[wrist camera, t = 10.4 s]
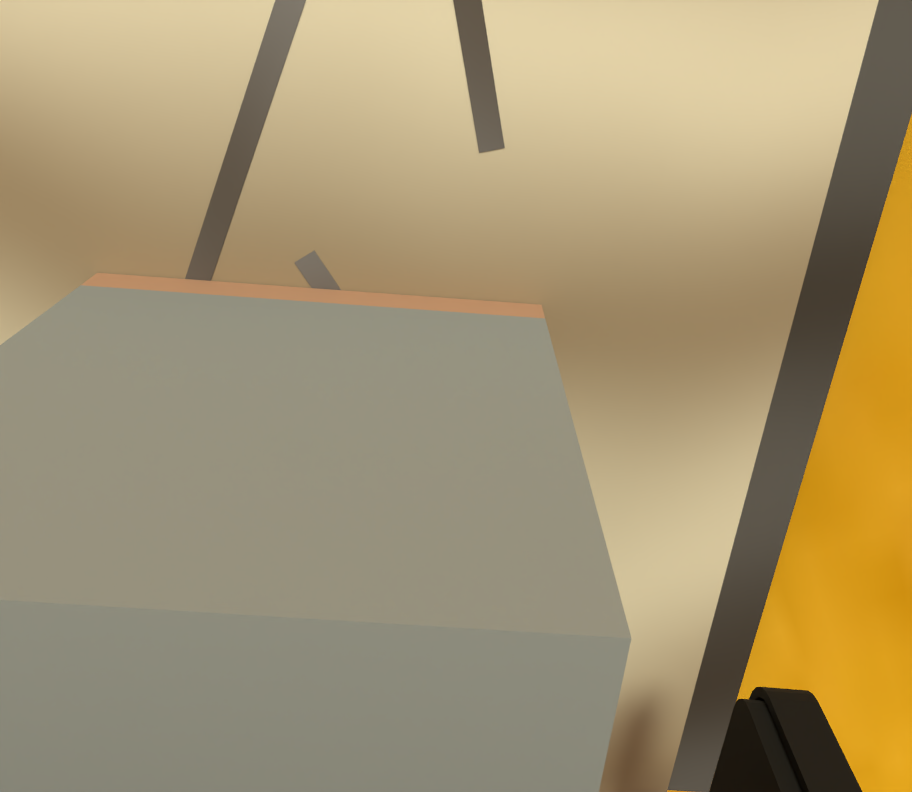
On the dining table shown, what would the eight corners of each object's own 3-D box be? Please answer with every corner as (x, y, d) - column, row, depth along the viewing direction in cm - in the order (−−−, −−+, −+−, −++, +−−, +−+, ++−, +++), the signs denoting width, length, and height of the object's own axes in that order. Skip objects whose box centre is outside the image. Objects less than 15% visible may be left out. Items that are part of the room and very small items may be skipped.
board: (-548, -1214, 7) (-914, -1658, 5) (1213, -999, 7) (1463, -1333, 5) (-52, 726, 16) (-117, 816, 14) (702, 771, 17) (731, 864, 15)
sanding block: (97, 272, 10) (-316, 580, 5) (541, 304, 10) (632, 638, 5) (152, 740, 14) (-52, 1230, 8) (484, 759, 14) (500, 1252, 8)
